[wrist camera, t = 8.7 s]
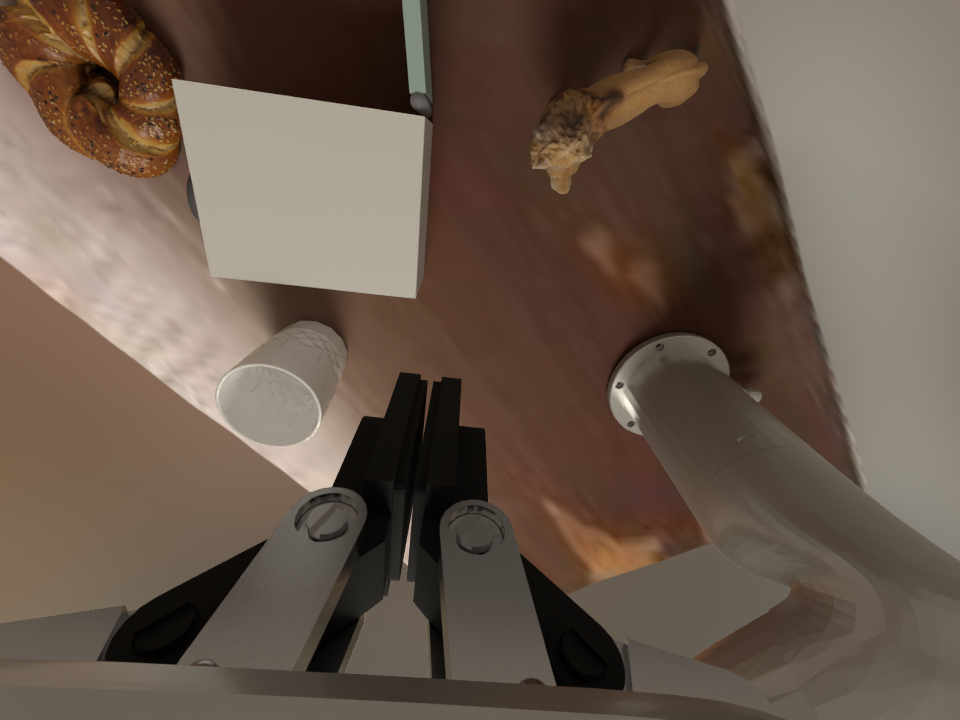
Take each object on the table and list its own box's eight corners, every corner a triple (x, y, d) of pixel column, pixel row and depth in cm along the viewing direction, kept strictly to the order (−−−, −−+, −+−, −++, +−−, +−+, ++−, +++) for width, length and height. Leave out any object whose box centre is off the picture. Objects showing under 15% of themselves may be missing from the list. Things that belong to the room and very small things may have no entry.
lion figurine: (535, 194, 33) (557, 207, 25) (504, 132, 31) (517, 125, 23) (705, 82, 30) (793, 57, 22) (683, 4, 27) (772, -56, 19)
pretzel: (227, 166, 32) (199, 169, 28) (98, 186, 32) (57, 191, 29) (146, -34, 26) (100, -60, 23) (-10, -7, 26) (-77, -28, 23)
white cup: (280, 383, 41) (229, 446, 32) (265, 312, 37) (202, 361, 28) (357, 385, 41) (327, 448, 32) (349, 315, 37) (313, 365, 29)
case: (432, 123, 30) (424, 116, 24) (423, 275, 36) (415, 298, 30) (213, 91, 29) (150, 75, 23) (239, 254, 34) (193, 274, 29)
